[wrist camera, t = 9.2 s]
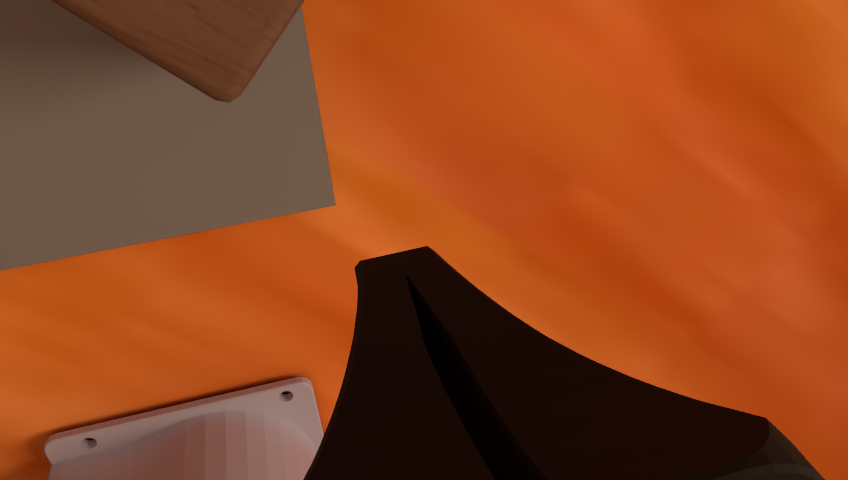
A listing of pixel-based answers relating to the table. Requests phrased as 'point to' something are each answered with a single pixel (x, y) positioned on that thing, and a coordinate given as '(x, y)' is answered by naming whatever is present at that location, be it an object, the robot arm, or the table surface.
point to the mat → (142, 141)
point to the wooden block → (194, 36)
